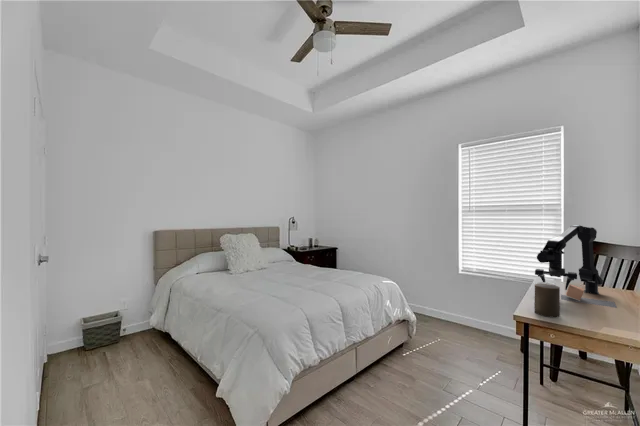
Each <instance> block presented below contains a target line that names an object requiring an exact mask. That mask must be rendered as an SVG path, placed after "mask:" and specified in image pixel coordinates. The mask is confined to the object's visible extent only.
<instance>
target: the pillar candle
mask: <svg viewBox="0 0 640 426" xmlns="http://www.w3.org/2000/svg"><path fill="white" fill-rule="evenodd" d="M555 285H556V284H555ZM555 285H549V284H537V283H535V284H534V302H533V304H534V313H535V314H537V315H540V316H542V317H548V318H559V317H561V314H560V312H561V308H560V307H561V306H560V305H561V302H560V301H561V293H560V291H561V289H560V286H557V285H556V286H555Z"/></svg>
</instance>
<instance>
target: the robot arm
mask: <svg viewBox="0 0 640 426" xmlns="http://www.w3.org/2000/svg"><path fill="white" fill-rule="evenodd" d="M597 233H598V232H597V229H596V228H595V227H589V226H588V227H587V226H583V225H580V224H579V225H578V224H577V225H576V224H572V225H570V226H569V227H568V228H567V229H566V230H564V231H563V232H562V233H561V234H559V235H558V236H557V237H552V238H550V239H548V240H547V241H546V243H545V245H544V247H543V249H542V250H540V252H539V253H537V255H536V260H537V261H538V262H539V263H541V264H542V263H543V264H544V263H545V264H546V263H548V270H547V271H546V270H544V269H541V268H536V269H535V270H534V275H536V276H537V277H539V279H541V282H546V276H545V275H548V276H549V277H557V278H561V277H566V282H565V288H564V290H565V291H567V290H568V287H569V285H570V284H571V282H572V281H575V280H578V276H579V279H580V282H583V283H584V292H583V294H585V293H586V294H590V295H591V294H593V295H600V292H599V285H600V286H601V285H603V284H604V279H603V278H602V277H601V276H600V275H599V270H598V268H597V267H596V266H595V260H594V259H595V257H594V241H595V240H596V238H597ZM575 236H577V239H579V241H580V242H581V255H582V257H581V258H582V266H581V267H579V268H578V273H577V272H574V271H567V273H566V268H565V267H564V268H563V255H564V254H565V252H564V249H565V247H567V243H568V242H569V241H570V240H572V239H573V238H574V237H575Z"/></svg>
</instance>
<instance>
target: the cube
mask: <svg viewBox="0 0 640 426" xmlns="http://www.w3.org/2000/svg"><path fill="white" fill-rule="evenodd" d="M584 290H585V288H583V287H580V286H577V285H573V284H571V283H569V285H568V287H567V290H566V292H565V295H566V296H567V297H570V298H573V299H576V300H578V301H580V300H581V297H582V296H583V294H584ZM582 298H583V297H582Z"/></svg>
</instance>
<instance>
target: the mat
mask: <svg viewBox="0 0 640 426" xmlns="http://www.w3.org/2000/svg"><path fill="white" fill-rule="evenodd" d="M561 300H562V301H567V302H568V301H569V302H573V303H575V302H576V303H582V304H588V305H597V306H600V307H608V308H615V309H618V306H617V305H616V303H615V302H614V301H611V300H609V301H608V300H603V299H595V298H589V297H588V298H587V297H581V300H580V301H578V300H576V299H573V298H570V297H567V296H566V294H560V301H561Z"/></svg>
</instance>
